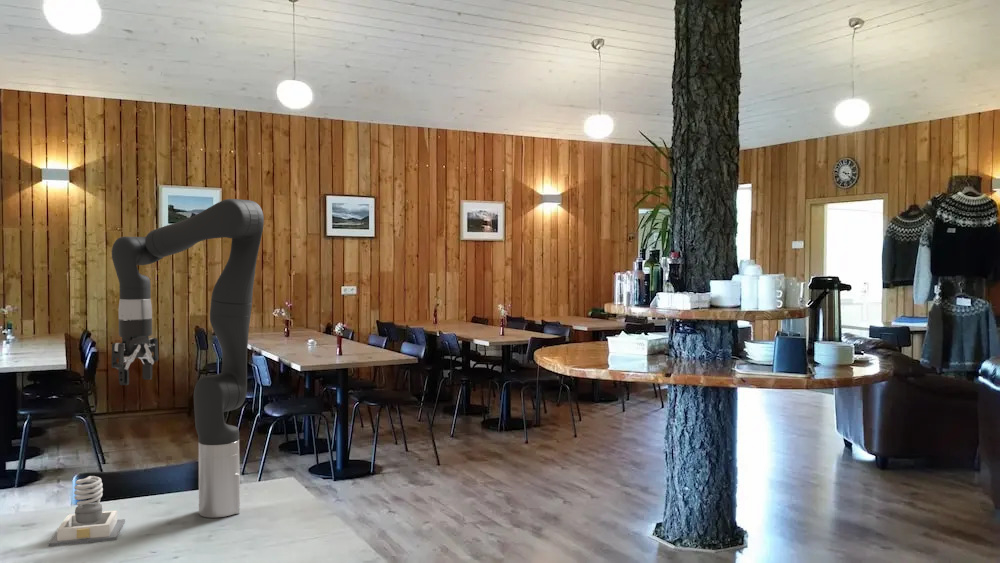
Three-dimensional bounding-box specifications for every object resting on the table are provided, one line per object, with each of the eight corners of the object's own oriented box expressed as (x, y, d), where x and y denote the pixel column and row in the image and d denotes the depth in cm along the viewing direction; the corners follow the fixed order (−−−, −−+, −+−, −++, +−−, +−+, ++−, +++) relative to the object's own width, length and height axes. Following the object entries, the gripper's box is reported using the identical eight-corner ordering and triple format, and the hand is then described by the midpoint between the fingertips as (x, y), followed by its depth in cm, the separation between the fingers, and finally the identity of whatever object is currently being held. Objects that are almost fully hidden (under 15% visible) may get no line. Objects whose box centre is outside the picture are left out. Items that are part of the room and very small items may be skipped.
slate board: (125, 521, 178) (125, 519, 178) (116, 539, 166) (116, 537, 166) (61, 527, 174) (61, 524, 174) (48, 546, 163) (48, 543, 163)
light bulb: (99, 524, 174) (99, 471, 174) (106, 531, 170) (105, 477, 170) (71, 529, 171) (71, 476, 170) (77, 536, 166) (77, 481, 166)
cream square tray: (117, 521, 176) (117, 510, 176) (108, 536, 166) (108, 525, 166) (68, 525, 173) (68, 514, 173) (56, 541, 163) (56, 530, 163)
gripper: (141, 314, 199) (141, 377, 199) (101, 319, 185) (102, 386, 185) (167, 315, 197) (167, 378, 198) (128, 319, 183) (129, 387, 184)
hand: (135, 382), depth 191 cm, fingers open, 8 cm apart
